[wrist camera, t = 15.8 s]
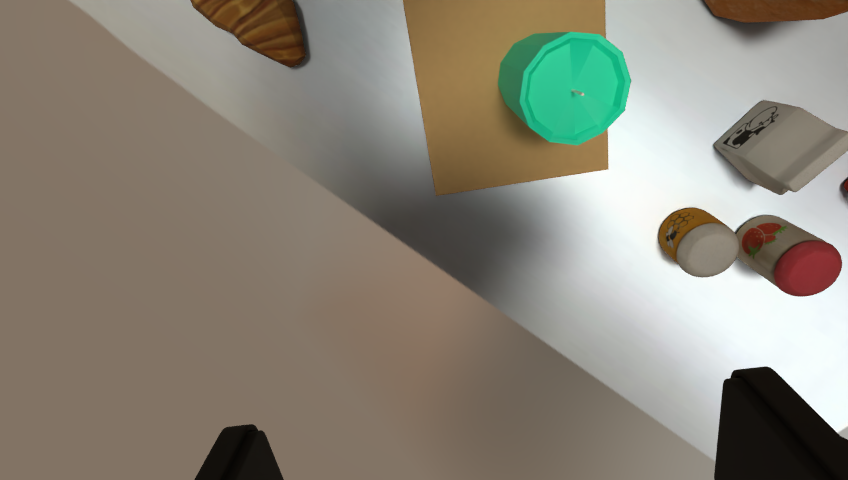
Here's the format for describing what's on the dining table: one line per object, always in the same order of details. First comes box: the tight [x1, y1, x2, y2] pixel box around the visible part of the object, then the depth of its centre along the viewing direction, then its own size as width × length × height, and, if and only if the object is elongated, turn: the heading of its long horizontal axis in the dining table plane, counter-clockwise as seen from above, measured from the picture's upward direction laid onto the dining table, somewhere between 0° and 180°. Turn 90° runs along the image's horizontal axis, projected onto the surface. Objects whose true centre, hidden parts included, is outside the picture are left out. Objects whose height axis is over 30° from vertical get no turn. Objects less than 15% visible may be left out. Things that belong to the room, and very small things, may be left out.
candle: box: [498, 32, 631, 145], centre depth 30 cm, size 6×6×12 cm
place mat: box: [403, 0, 608, 196], centre depth 35 cm, size 20×14×1 cm
